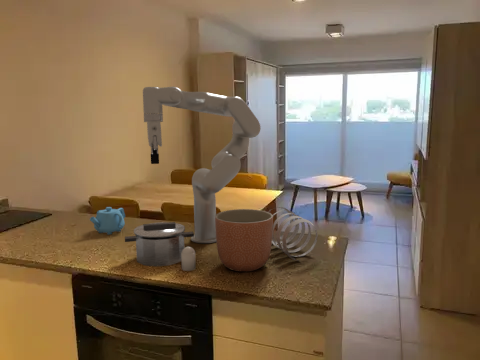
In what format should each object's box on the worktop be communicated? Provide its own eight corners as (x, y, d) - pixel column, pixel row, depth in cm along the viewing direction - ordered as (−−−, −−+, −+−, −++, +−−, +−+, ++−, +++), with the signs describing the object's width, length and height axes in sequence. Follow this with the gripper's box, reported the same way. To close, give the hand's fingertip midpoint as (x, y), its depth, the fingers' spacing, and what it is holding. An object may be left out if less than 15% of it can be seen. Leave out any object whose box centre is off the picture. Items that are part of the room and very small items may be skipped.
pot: (190, 246, 178) (189, 223, 177) (197, 262, 159) (196, 236, 158) (126, 251, 172) (124, 227, 170) (125, 269, 153) (124, 242, 151)
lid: (181, 223, 175) (181, 216, 174) (187, 235, 156) (187, 228, 156) (133, 226, 170) (133, 219, 169) (134, 239, 151) (133, 232, 151)
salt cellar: (194, 265, 157) (194, 244, 155) (196, 270, 152) (196, 248, 151) (180, 266, 155) (180, 245, 154) (182, 271, 151) (182, 249, 149)
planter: (255, 253, 170) (255, 206, 167) (283, 270, 151) (284, 218, 148) (207, 261, 160) (206, 212, 157) (231, 281, 142) (230, 225, 139)
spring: (262, 244, 186) (291, 268, 158) (253, 211, 183) (281, 230, 154) (293, 232, 190) (327, 253, 162) (285, 199, 186) (319, 216, 158)
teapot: (112, 224, 213) (111, 201, 211) (137, 229, 205) (135, 205, 203) (79, 234, 196) (77, 209, 194) (104, 240, 188) (103, 214, 186)
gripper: (164, 118, 164) (165, 165, 167) (161, 118, 179) (162, 161, 182) (144, 118, 162) (146, 166, 165) (143, 118, 177) (144, 161, 180)
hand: (155, 163), depth 173 cm, fingers closed
